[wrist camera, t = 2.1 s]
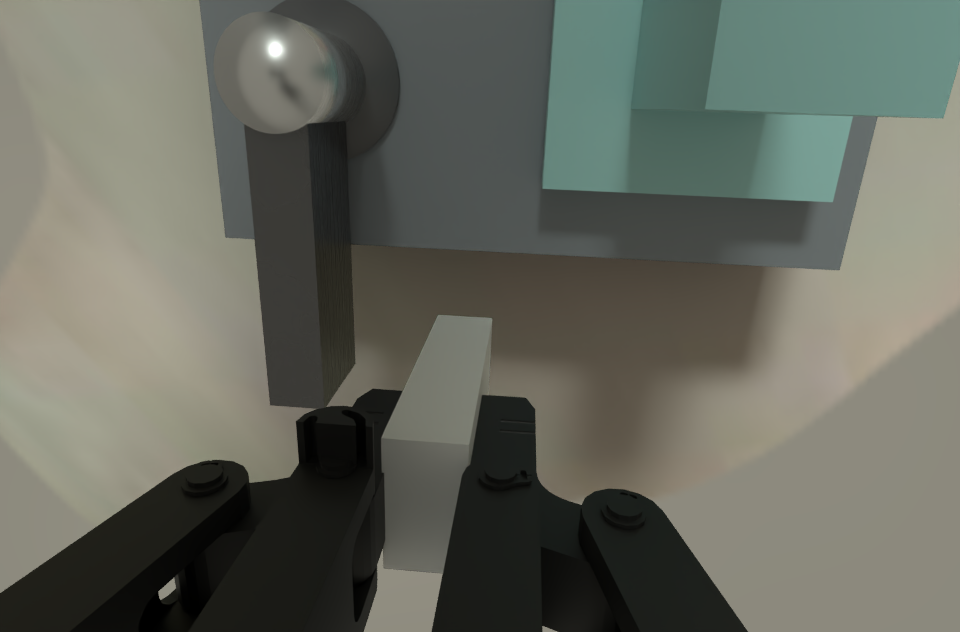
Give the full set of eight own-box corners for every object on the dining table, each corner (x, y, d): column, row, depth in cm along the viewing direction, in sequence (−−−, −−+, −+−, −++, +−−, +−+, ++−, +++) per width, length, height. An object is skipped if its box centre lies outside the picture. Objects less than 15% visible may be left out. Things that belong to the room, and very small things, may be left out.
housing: (261, -152, 23) (169, -241, 17) (850, -145, 21) (971, -241, 16) (287, 210, 27) (223, 238, 22) (772, 235, 26) (842, 271, 20)
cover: (563, -130, 17) (599, -385, 8) (882, -125, 17) (1289, -395, 8) (541, 183, 20) (551, 242, 11) (811, 195, 20) (1045, 267, 11)
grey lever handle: (273, 30, 19) (207, 9, 15) (364, 33, 19) (321, 13, 15) (297, 355, 23) (249, 406, 19) (373, 360, 23) (340, 413, 19)
